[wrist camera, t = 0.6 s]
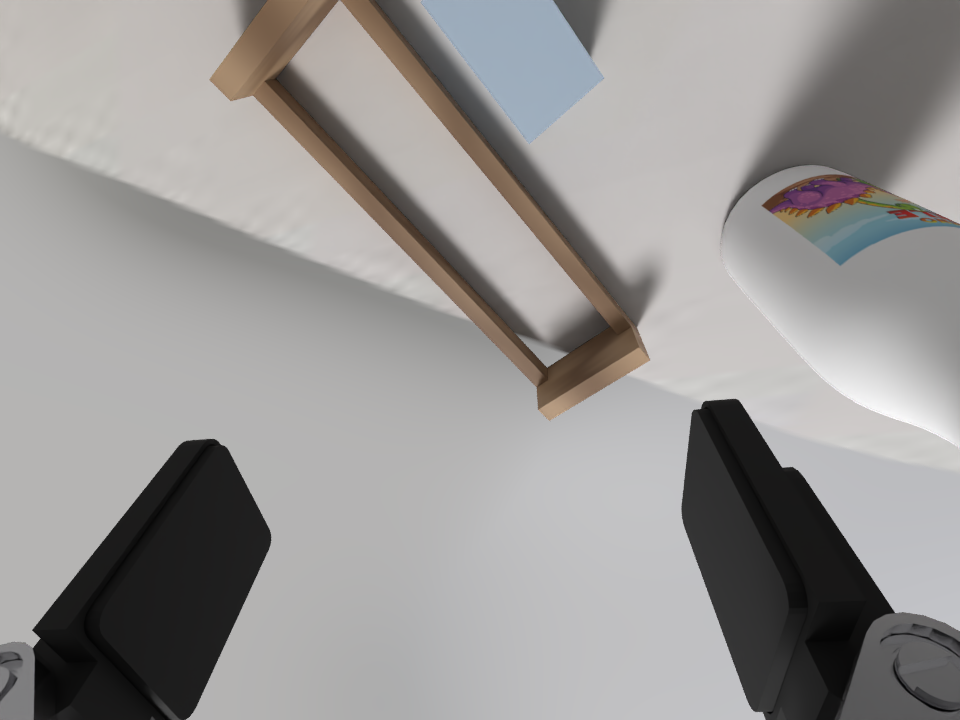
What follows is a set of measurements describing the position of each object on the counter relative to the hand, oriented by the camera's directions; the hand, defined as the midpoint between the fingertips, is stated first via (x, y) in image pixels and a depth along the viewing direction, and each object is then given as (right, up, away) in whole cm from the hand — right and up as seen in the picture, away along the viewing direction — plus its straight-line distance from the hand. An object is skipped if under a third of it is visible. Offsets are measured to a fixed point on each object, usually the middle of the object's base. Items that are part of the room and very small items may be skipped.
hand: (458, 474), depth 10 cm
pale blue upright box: (+2, +19, +16) cm, 24 cm away
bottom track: (-1, +11, +21) cm, 23 cm away
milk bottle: (+19, +10, +20) cm, 29 cm away
